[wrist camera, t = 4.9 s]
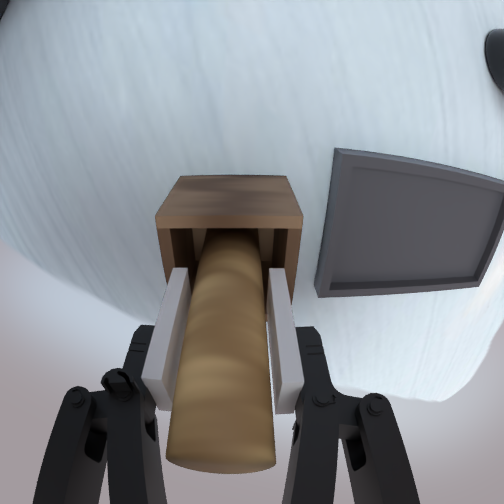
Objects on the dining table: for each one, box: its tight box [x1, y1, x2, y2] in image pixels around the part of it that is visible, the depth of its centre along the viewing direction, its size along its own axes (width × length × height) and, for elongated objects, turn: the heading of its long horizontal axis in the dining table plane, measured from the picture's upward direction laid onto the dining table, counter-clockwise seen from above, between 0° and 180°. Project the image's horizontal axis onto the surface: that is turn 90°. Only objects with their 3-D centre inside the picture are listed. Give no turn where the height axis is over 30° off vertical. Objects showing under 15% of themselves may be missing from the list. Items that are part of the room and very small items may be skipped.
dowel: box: [166, 228, 276, 474], centre depth 14 cm, size 4×4×16 cm
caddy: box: [155, 175, 303, 322], centre depth 18 cm, size 7×7×6 cm
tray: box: [314, 148, 504, 298], centre depth 21 cm, size 20×12×2 cm, turn 89°
